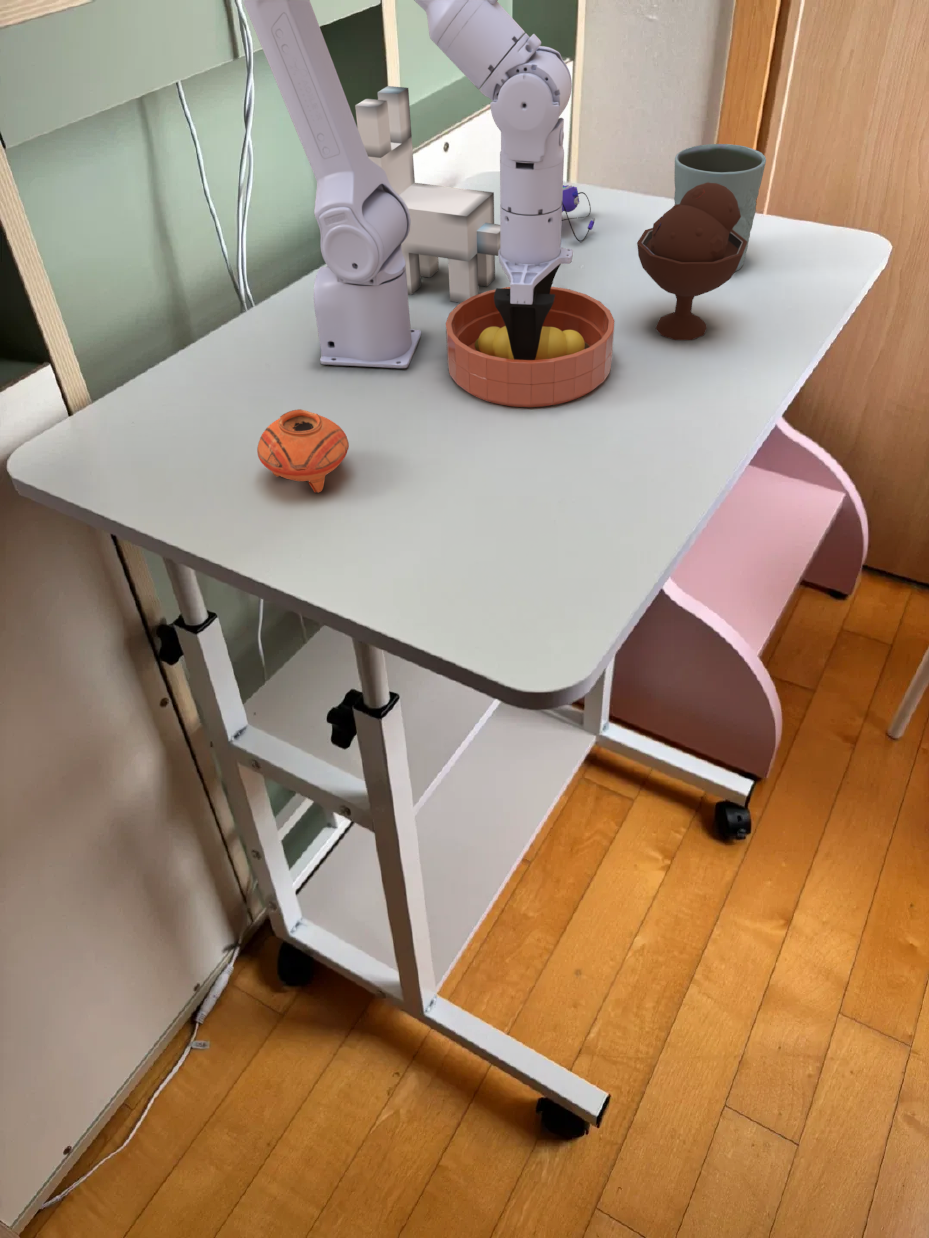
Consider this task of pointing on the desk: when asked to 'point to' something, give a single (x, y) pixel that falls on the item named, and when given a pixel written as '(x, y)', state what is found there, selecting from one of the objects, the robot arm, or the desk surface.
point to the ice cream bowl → (692, 253)
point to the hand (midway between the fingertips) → (529, 340)
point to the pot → (303, 447)
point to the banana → (550, 343)
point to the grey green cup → (723, 177)
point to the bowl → (530, 377)
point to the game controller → (573, 204)
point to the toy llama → (430, 203)
